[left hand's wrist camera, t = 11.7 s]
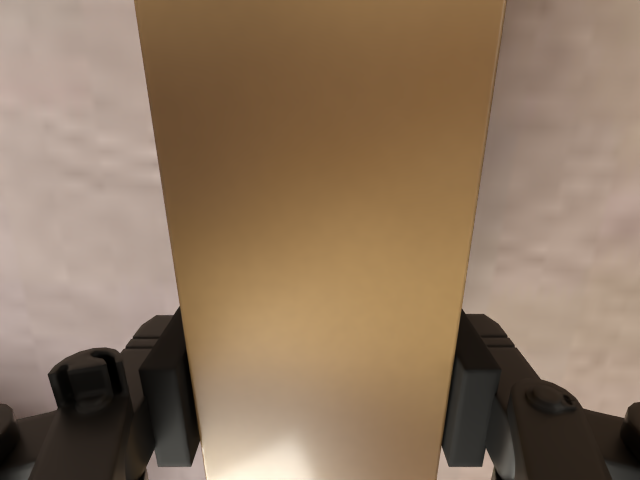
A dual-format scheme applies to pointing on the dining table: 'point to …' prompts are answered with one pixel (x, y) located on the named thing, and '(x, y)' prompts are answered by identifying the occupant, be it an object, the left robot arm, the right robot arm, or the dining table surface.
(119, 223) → the dining table surface
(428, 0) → the bar
